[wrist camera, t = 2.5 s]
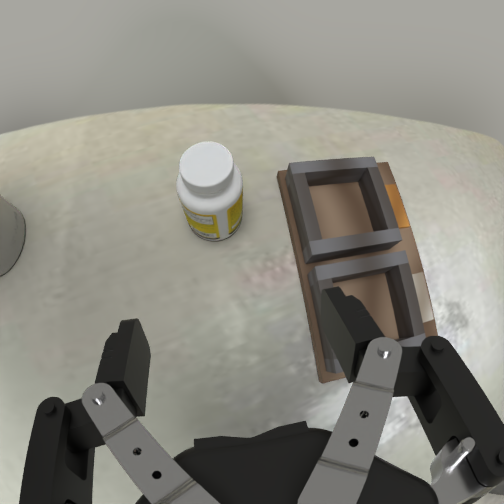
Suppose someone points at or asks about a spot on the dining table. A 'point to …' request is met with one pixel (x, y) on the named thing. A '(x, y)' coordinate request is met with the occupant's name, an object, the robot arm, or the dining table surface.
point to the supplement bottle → (210, 190)
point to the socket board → (355, 249)
